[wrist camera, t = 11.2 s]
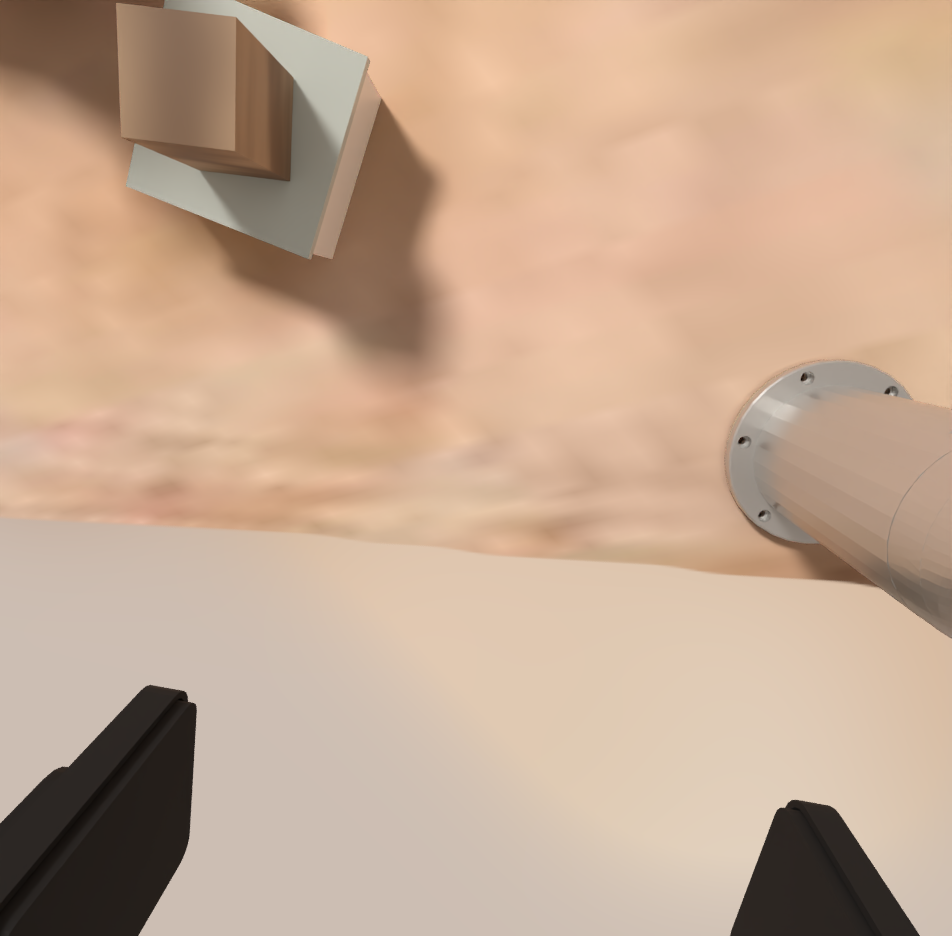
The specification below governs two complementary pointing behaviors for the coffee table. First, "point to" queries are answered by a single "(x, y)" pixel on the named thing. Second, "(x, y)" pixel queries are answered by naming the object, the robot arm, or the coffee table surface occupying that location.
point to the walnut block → (203, 92)
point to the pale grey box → (312, 148)
